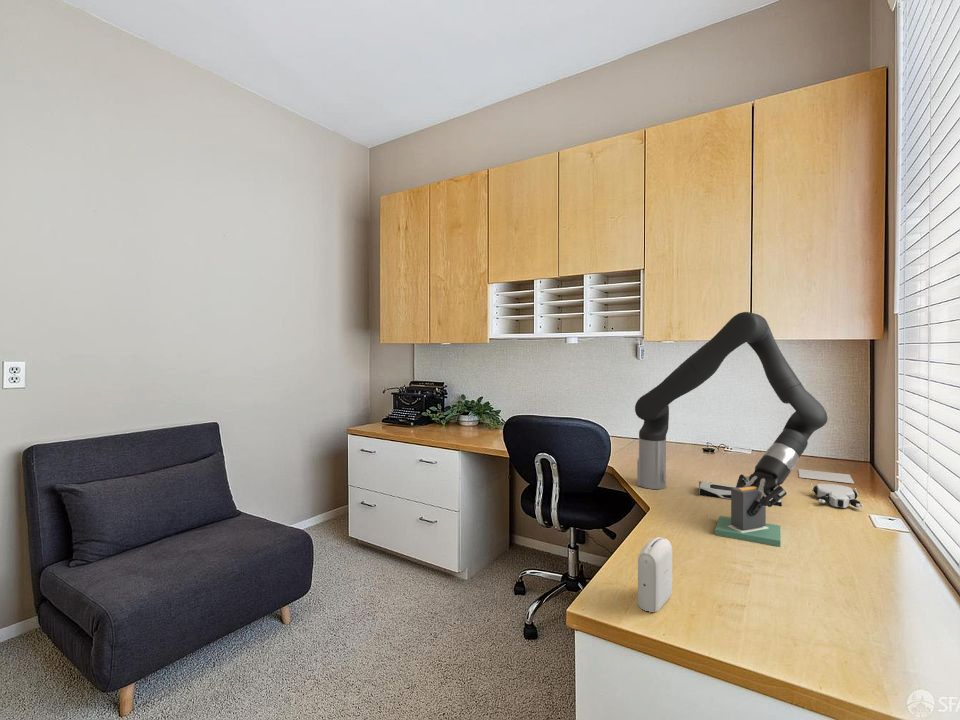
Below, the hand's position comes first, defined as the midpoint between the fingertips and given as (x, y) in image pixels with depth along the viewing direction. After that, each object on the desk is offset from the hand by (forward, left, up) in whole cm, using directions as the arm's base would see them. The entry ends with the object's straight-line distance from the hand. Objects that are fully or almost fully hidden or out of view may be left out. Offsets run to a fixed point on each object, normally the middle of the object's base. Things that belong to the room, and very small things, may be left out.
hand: (742, 511), depth 131 cm
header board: (+1, +1, -6) cm, 6 cm away
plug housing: (+1, +1, -4) cm, 4 cm away
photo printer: (-13, -48, -6) cm, 50 cm away
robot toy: (+24, +43, -7) cm, 50 cm away
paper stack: (+19, +74, -7) cm, 76 cm away
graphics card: (-3, +34, -7) cm, 35 cm away
